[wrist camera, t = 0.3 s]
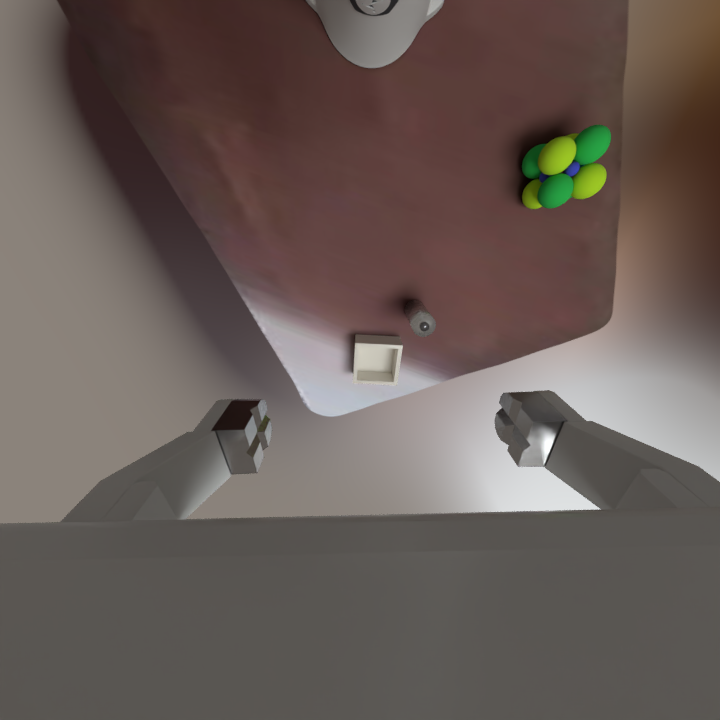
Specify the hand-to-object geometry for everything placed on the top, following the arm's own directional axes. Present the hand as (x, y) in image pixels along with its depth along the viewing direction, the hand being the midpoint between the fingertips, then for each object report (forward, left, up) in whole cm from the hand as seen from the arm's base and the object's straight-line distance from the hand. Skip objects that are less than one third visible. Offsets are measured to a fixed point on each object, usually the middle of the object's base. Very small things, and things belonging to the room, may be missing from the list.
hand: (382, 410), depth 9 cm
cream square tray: (+21, +4, -46) cm, 51 cm away
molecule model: (-14, +29, -47) cm, 57 cm away
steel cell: (+10, +11, -46) cm, 49 cm away
